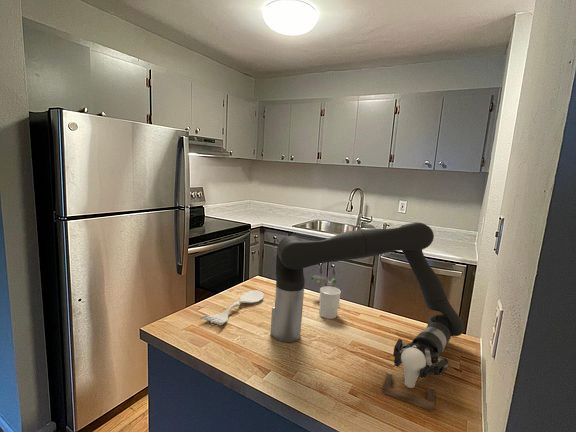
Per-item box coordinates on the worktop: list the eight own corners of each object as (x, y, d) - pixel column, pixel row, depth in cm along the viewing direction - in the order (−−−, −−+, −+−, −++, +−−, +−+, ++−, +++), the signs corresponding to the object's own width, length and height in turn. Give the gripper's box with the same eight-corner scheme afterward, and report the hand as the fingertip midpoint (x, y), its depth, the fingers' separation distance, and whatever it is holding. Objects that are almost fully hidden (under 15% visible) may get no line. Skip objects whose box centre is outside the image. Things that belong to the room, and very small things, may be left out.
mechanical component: (333, 302, 131) (335, 280, 130) (309, 298, 133) (311, 276, 132) (333, 299, 134) (336, 277, 133) (310, 296, 136) (312, 274, 135)
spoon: (198, 324, 107) (199, 315, 106) (249, 293, 135) (250, 286, 135) (220, 332, 103) (220, 322, 102) (267, 298, 131) (268, 290, 131)
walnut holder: (382, 392, 80) (382, 388, 79) (386, 376, 86) (386, 372, 86) (433, 411, 74) (433, 406, 74) (433, 393, 81) (434, 389, 81)
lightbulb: (420, 383, 84) (426, 346, 82) (422, 398, 79) (428, 359, 77) (396, 376, 86) (402, 340, 84) (396, 391, 80) (402, 352, 79)
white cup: (341, 314, 121) (343, 290, 120) (333, 321, 115) (335, 296, 113) (323, 308, 125) (325, 284, 124) (314, 315, 119) (316, 290, 117)
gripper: (407, 322, 96) (383, 343, 84) (458, 342, 87) (440, 368, 74) (403, 345, 97) (380, 368, 85) (454, 366, 88) (436, 396, 75)
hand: (408, 368), depth 80 cm, fingers closed on lightbulb, 5 cm apart
